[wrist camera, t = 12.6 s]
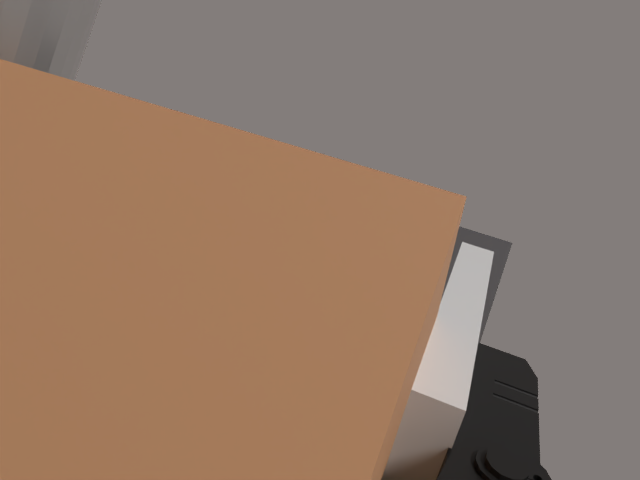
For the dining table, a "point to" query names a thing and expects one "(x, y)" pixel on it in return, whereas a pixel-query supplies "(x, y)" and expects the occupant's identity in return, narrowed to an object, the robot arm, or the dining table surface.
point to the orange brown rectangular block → (205, 294)
